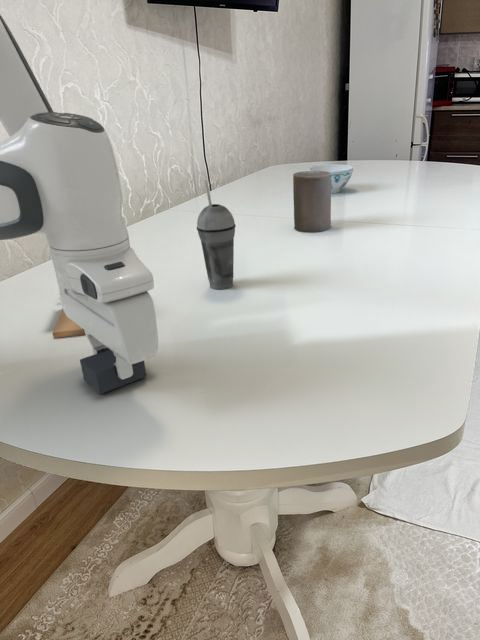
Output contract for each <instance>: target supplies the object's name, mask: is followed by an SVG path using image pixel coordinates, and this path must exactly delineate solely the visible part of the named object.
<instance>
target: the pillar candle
mask: <svg viewBox="0 0 480 640" xmlns="http://www.w3.org/2000/svg"><path fill="white" fill-rule="evenodd" d="M292 186H293V188H292V189H293V190H292V191H293V195H292V196H293V224H294V225H293V229H294V230H295V231H298V232H302V233H318V232H324V231H327V230H330V229H331V225H332V224H331V223H332V221H331V220H332V193H331V173H330V172H326V171H312V168H311V171H308V170H305V171H297V172H294V173H293V175H292Z"/></svg>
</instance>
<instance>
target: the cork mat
mask: <svg viewBox="0 0 480 640" xmlns="http://www.w3.org/2000/svg"><path fill="white" fill-rule="evenodd" d="M55 323H56V324H55V326H54V327H53V330H52V337H53V339H59V338H67V337H76V336H86V334H85V330H84V329H83V328H81V327H80V326H79V325H77V324H76V323H75V322H73V321H72V320H71V319H69V318H68V317H67V316H66V314H65V312H64V310H63V308H62V309H61V311H60V313H59V315H58V318H57V321H56V322H55Z"/></svg>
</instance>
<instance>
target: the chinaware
mask: <svg viewBox="0 0 480 640" xmlns="http://www.w3.org/2000/svg"><path fill="white" fill-rule="evenodd" d="M311 168H312V171H326V172H330V173H331V194H338V193H340V192H341V190H342V188H344V187H345V186H346V185H347V184H348V182H349V181H350V180H351V177H352V175H353V172H354V166H353V165H348V164H337V163H336V164H320V165H313V166H310V167H308V168H307V171H311Z"/></svg>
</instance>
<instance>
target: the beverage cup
mask: <svg viewBox="0 0 480 640" xmlns="http://www.w3.org/2000/svg"><path fill="white" fill-rule="evenodd" d="M203 182H204V187H205V192H206V197H207V203H208V205H207V206H205V207H204V208H202V210H201V211H200V212H199V214H198V217H197V220H196V231H197V234H198V237H199V240H200V243H201V250H202V254H203V259H204V264H205V270H206V274H207V280H208V283H209V287H210V289H213V290H218V291H219V290H226V289H230V288H232V287H234V260H235V259H234V256H235V255H234V252H235V251H234V243H235V235H236V227H237V225H236V223H235V222H236V221H235V218H234V216H233V214H232V212H231V211H230V210H229V209H228V208H227V207H226V206H224V205H223V204H219V203H212V199H211V193H210V188H209V184H208V180H207V179H204V181H203Z"/></svg>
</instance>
